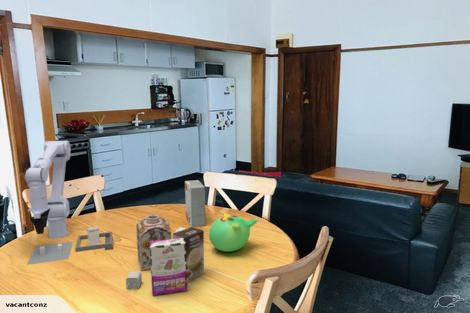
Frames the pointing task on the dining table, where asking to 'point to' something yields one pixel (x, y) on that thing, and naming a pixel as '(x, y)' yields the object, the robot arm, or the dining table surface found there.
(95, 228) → the block
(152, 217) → the decorative jar
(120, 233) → the dining table surface
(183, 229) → the seamed sphere
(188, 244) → the coffee box
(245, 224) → the toy bird
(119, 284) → the dining table surface
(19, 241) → the dining table surface
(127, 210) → the dining table surface
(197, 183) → the hard drive box
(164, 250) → the candy bar box
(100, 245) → the parts tray
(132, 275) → the usb wall charger
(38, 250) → the panel
